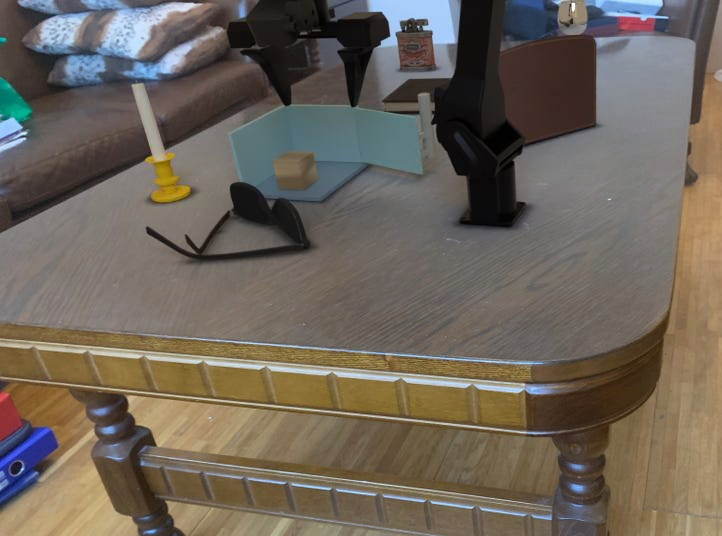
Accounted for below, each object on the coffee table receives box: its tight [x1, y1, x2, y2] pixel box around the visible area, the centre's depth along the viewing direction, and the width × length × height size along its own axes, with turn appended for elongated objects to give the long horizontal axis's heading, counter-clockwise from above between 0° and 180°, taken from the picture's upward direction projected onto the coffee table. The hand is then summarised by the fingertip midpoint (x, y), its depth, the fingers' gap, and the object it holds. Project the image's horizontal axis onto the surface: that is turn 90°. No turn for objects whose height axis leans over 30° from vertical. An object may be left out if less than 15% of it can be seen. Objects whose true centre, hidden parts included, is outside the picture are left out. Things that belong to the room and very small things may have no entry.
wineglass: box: [557, 0, 588, 36], centre depth 150 cm, size 6×6×12 cm
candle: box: [131, 79, 192, 204], centre depth 101 cm, size 5×5×16 cm
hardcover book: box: [381, 77, 452, 115], centre depth 137 cm, size 16×23×2 cm
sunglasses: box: [145, 181, 311, 261], centre depth 87 cm, size 17×14×5 cm
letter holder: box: [498, 34, 597, 146], centre depth 114 cm, size 10×20×14 cm, turn 123°
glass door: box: [353, 93, 437, 175], centre depth 104 cm, size 12×4×10 cm, turn 51°
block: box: [272, 151, 318, 191], centre depth 103 cm, size 4×4×4 cm
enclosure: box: [226, 103, 369, 203], centre depth 104 cm, size 14×12×9 cm
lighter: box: [394, 17, 437, 72], centre depth 159 cm, size 8×3×10 cm, turn 73°
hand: (320, 106), depth 93 cm, fingers open, 9 cm apart
